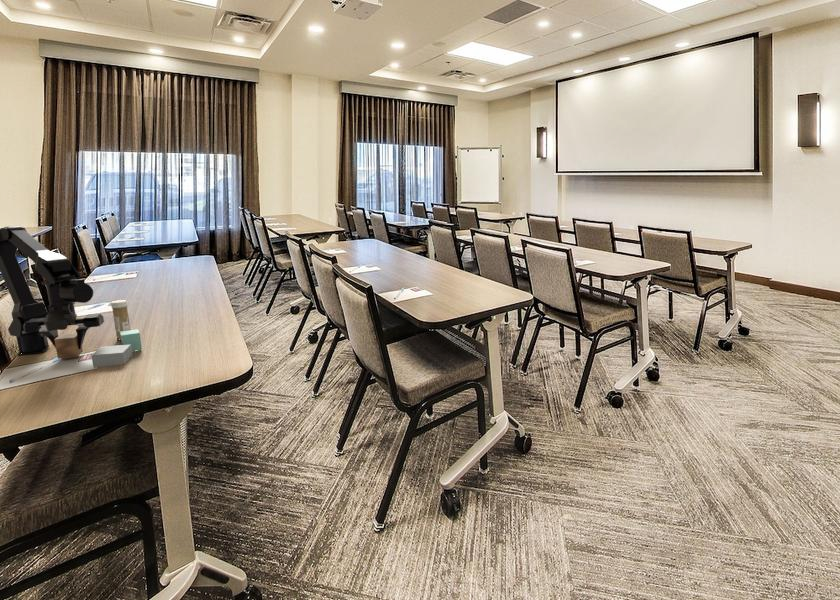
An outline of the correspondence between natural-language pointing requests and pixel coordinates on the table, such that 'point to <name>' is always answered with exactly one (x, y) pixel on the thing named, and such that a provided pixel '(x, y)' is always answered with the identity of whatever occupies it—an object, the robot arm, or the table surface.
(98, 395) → the table surface
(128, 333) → the teal block
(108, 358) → the grey slab
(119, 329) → the sprinkles bottle
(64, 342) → the walnut block
